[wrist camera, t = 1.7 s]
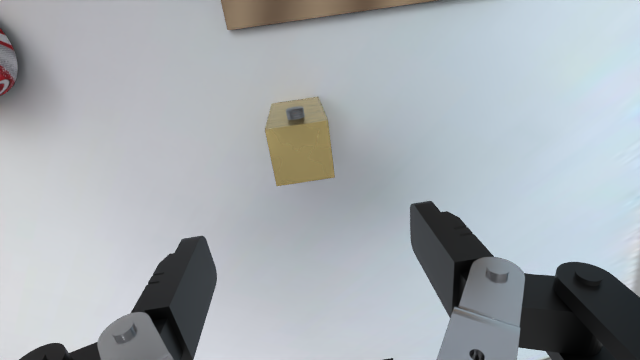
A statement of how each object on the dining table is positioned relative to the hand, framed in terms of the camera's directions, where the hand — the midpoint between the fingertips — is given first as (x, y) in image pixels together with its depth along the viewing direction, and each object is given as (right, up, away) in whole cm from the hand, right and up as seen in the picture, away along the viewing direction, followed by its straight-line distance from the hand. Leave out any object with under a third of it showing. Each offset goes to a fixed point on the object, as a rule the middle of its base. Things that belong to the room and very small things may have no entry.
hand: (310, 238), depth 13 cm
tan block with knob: (-2, +7, +16) cm, 18 cm away
